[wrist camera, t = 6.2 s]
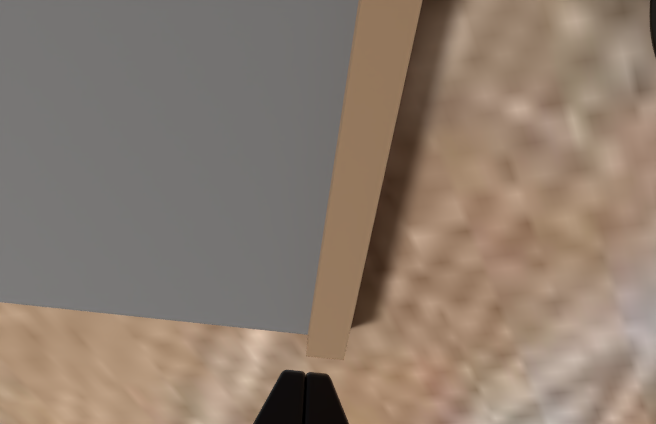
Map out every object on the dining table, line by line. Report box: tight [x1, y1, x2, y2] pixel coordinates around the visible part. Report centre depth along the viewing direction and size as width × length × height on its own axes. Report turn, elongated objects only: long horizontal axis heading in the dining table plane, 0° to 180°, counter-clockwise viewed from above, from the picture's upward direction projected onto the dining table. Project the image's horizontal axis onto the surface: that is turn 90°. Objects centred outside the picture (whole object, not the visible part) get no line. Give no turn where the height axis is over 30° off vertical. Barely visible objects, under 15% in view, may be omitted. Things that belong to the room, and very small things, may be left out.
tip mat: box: [0, 0, 423, 360], centre depth 17 cm, size 16×19×2 cm
